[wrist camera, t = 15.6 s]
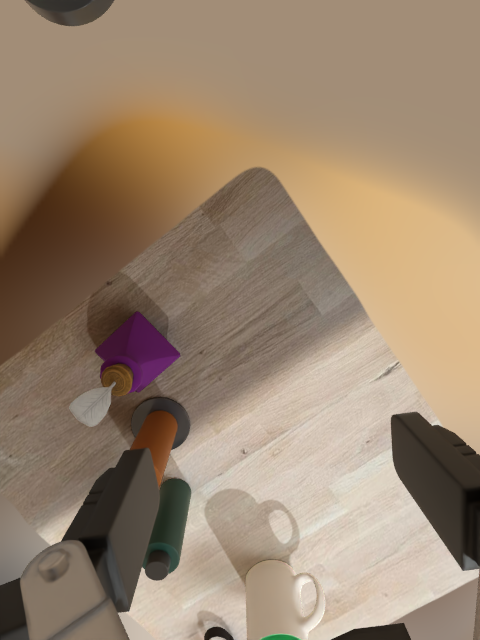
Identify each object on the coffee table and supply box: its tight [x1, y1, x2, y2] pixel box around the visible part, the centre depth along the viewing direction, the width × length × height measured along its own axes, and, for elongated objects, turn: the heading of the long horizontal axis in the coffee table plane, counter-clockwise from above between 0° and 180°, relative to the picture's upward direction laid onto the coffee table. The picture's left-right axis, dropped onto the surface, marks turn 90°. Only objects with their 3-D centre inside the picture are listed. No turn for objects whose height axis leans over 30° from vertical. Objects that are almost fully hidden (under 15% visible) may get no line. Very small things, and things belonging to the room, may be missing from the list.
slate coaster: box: [131, 397, 190, 450], centre depth 49 cm, size 8×8×1 cm
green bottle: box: [142, 479, 191, 580], centre depth 45 cm, size 5×5×12 cm
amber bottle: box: [130, 411, 178, 486], centre depth 42 cm, size 5×5×12 cm
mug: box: [245, 560, 325, 640], centre depth 50 cm, size 12×8×10 cm
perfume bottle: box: [69, 311, 180, 427], centre depth 37 cm, size 8×8×18 cm
